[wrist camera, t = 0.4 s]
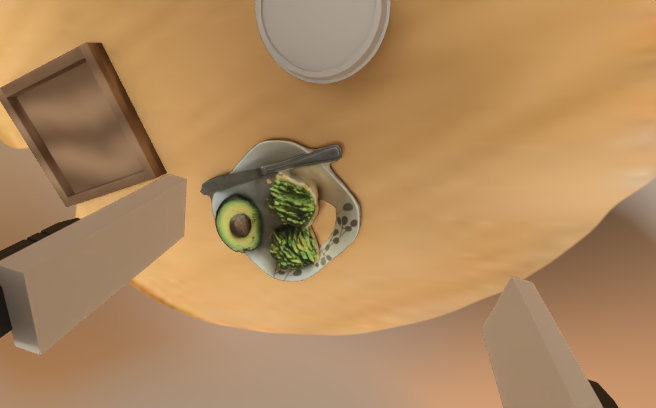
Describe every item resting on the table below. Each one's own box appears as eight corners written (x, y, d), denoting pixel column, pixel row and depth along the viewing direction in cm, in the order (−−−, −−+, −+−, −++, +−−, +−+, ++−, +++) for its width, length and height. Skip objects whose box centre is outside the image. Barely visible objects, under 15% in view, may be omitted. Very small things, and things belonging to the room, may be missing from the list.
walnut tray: (11, 89, 44) (-6, 91, 42) (101, 43, 39) (86, 42, 37) (78, 201, 49) (66, 207, 47) (166, 172, 44) (156, 177, 42)
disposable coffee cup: (311, 86, 36) (271, 98, 25) (286, -15, 33) (229, -51, 22) (402, 63, 34) (401, 65, 23) (385, -49, 30) (374, -109, 20)
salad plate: (292, 89, 37) (277, 92, 33) (400, 206, 40) (399, 223, 36) (195, 196, 45) (173, 210, 41) (290, 288, 48) (279, 310, 43)
